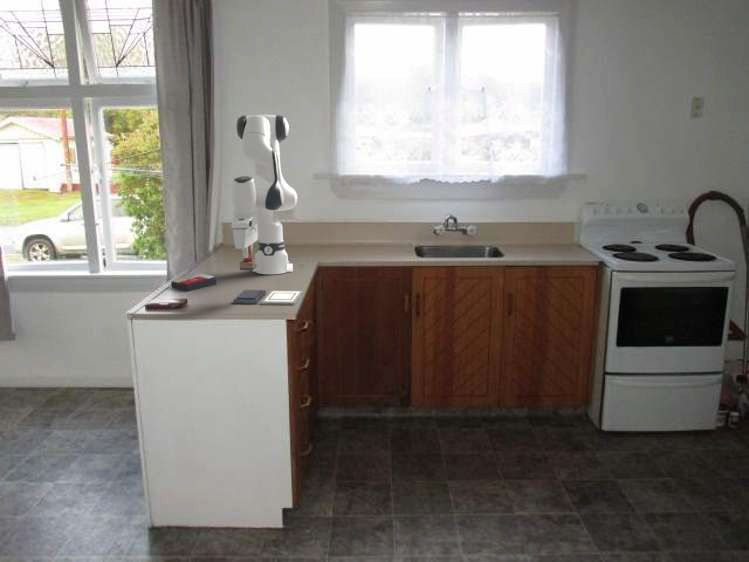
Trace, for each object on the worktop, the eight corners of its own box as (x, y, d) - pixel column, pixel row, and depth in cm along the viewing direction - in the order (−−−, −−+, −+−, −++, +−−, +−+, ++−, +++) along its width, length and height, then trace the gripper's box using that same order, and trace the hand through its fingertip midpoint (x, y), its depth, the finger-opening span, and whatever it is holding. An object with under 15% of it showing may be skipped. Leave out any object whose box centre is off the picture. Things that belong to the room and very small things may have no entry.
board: (271, 292, 248) (271, 290, 248) (303, 292, 247) (303, 290, 247) (260, 304, 231) (260, 301, 230) (294, 304, 230) (294, 302, 230)
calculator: (170, 280, 256) (199, 271, 268) (171, 290, 258) (200, 281, 269) (186, 283, 250) (216, 275, 261) (187, 293, 251) (217, 284, 263)
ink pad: (243, 294, 246) (243, 289, 245) (266, 294, 245) (265, 289, 245) (233, 303, 232) (233, 298, 232) (257, 303, 232) (256, 298, 231)
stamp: (244, 266, 239) (242, 243, 237) (257, 266, 239) (255, 243, 237) (240, 270, 233) (238, 246, 231) (252, 270, 233) (251, 246, 231)
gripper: (245, 217, 242) (247, 251, 245) (229, 224, 222) (232, 261, 225) (260, 217, 242) (262, 251, 245) (246, 224, 222) (248, 261, 225)
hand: (247, 256), depth 235 cm, fingers closed on stamp, 3 cm apart
